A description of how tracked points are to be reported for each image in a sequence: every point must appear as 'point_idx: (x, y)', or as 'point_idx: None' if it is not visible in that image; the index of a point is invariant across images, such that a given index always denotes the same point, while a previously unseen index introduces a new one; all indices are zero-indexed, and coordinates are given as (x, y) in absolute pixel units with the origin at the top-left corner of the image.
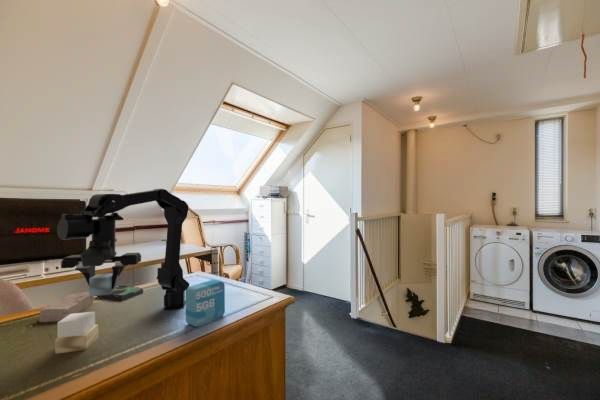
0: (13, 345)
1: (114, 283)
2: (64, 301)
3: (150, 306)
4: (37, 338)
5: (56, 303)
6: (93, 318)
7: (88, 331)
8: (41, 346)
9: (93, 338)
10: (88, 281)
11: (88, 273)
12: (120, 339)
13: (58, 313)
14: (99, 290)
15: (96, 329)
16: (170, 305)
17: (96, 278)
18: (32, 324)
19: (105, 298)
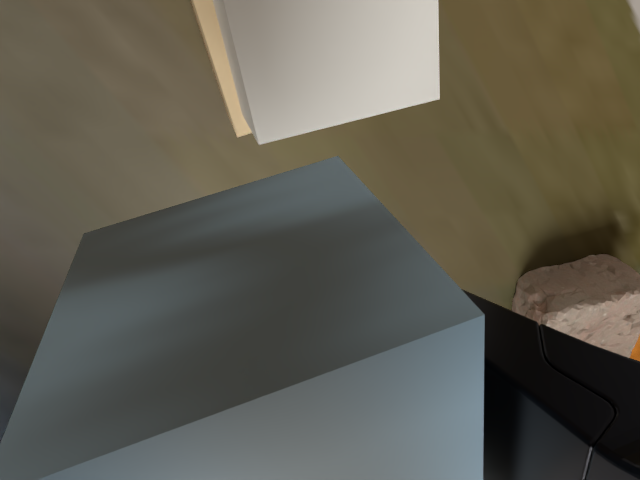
0: (608, 27)
1: None
2: None
3: None
4: (541, 101)
5: (618, 351)
6: (243, 101)
7: (212, 4)
8: (475, 5)
9: (206, 48)
10: (486, 317)
11: (621, 449)
12: (36, 81)
13: (568, 289)
14: (218, 228)
15: (225, 102)
16: None
17: (321, 366)
18: (623, 231)
19: None
